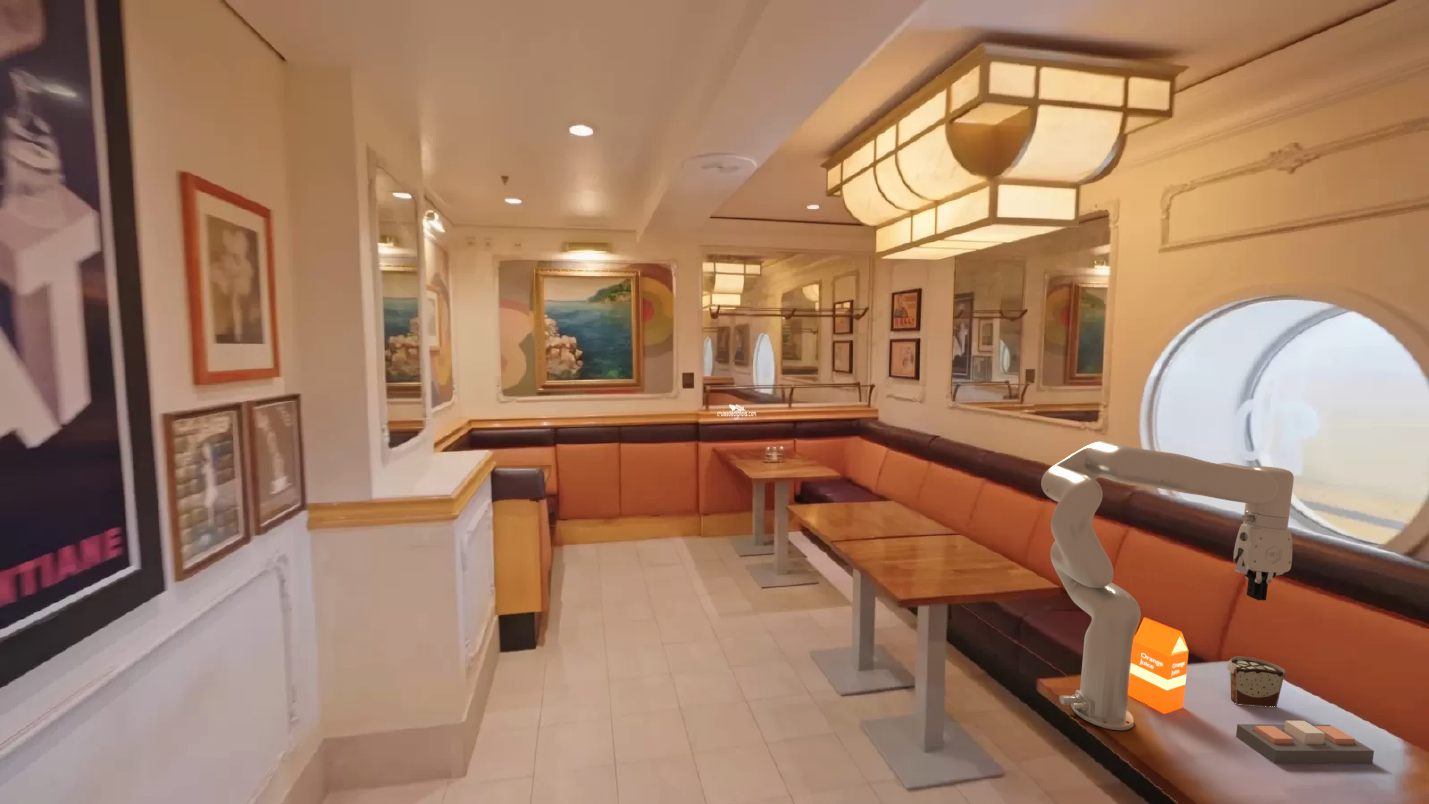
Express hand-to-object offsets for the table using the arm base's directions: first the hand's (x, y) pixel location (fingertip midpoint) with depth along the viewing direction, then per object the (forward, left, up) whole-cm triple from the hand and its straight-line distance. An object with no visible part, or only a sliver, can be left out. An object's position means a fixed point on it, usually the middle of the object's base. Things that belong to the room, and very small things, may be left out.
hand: (1256, 597), depth 139 cm
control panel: (+5, -9, -31) cm, 33 cm away
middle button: (+5, -9, -29) cm, 31 cm away
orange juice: (-14, +9, -31) cm, 35 cm away
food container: (+11, +10, -31) cm, 34 cm away
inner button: (-2, -9, -31) cm, 32 cm away
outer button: (+12, -9, -31) cm, 34 cm away
